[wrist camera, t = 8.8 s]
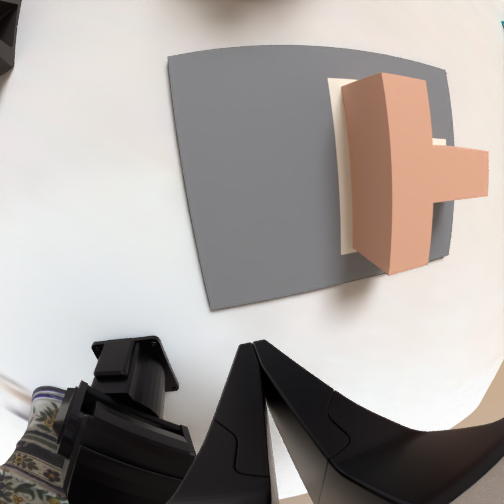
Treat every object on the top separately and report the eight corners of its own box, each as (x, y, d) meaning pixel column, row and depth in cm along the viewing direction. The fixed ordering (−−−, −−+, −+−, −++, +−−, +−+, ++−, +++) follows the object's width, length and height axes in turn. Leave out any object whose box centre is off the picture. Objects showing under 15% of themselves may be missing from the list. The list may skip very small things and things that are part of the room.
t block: (444, 228, 21) (481, 246, 17) (352, 247, 20) (388, 275, 16) (441, 99, 17) (483, 97, 12) (341, 86, 16) (381, 72, 11)
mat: (445, 253, 23) (448, 255, 23) (210, 306, 21) (211, 310, 20) (441, 70, 16) (445, 70, 16) (168, 59, 14) (167, 56, 14)
